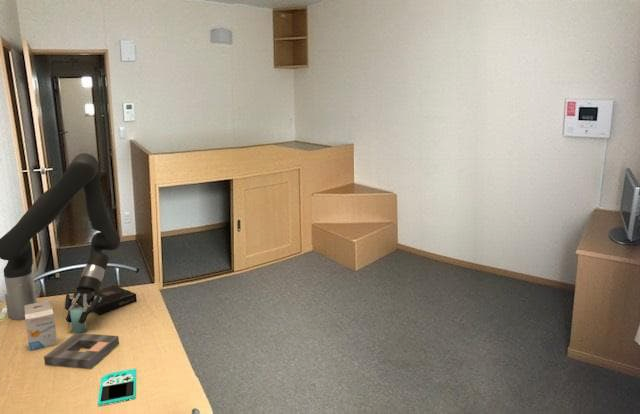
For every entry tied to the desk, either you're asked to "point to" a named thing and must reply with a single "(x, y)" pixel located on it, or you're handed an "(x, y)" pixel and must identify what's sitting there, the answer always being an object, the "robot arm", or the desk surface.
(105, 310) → the portable cd player
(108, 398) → the handheld game console
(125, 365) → the desk surface
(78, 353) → the holder
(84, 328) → the peg
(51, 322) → the ink box
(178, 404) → the desk surface
